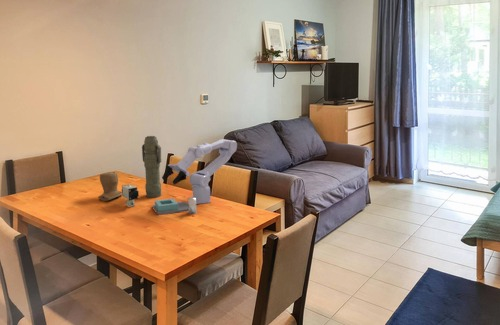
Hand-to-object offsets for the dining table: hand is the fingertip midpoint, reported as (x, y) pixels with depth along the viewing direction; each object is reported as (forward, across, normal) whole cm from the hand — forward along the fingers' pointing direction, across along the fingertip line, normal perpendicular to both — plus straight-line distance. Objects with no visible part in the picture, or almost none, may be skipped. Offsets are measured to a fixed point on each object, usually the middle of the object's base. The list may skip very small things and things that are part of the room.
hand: (168, 181), depth 219 cm
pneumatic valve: (+16, -20, +13) cm, 29 cm away
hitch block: (+6, +1, +15) cm, 16 cm away
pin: (+4, +15, +14) cm, 21 cm away
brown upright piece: (+16, -42, +18) cm, 48 cm away
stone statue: (0, -24, +25) cm, 35 cm away
